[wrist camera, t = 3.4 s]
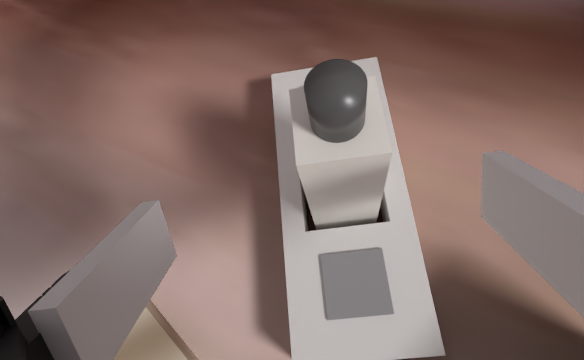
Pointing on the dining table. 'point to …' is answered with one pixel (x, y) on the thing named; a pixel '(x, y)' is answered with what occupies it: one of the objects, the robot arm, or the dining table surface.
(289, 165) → the power strip
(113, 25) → the dining table surface
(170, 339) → the birch board
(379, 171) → the plug
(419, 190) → the dining table surface
